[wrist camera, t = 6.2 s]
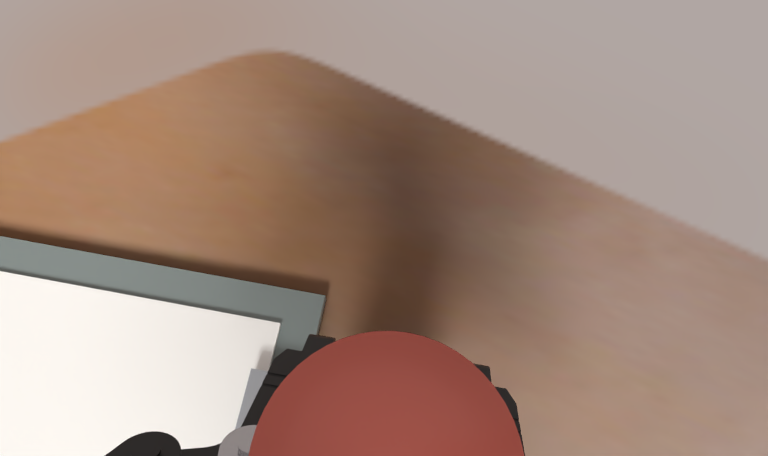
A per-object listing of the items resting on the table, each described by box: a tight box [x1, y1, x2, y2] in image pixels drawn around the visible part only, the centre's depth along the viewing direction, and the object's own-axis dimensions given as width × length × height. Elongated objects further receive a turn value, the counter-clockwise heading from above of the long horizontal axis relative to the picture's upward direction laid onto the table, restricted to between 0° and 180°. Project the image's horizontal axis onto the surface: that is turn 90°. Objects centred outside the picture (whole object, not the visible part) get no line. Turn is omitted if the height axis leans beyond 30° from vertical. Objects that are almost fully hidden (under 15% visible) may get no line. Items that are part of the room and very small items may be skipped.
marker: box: [249, 331, 524, 456], centre depth 13 cm, size 4×4×13 cm
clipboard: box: [0, 236, 326, 456], centre depth 20 cm, size 16×13×2 cm
